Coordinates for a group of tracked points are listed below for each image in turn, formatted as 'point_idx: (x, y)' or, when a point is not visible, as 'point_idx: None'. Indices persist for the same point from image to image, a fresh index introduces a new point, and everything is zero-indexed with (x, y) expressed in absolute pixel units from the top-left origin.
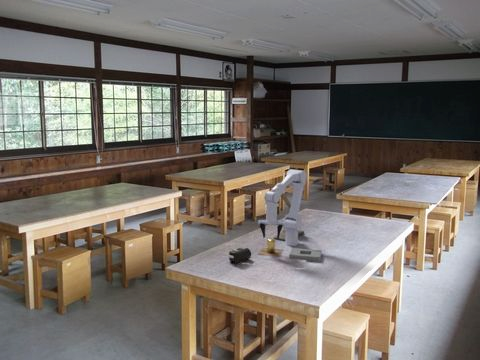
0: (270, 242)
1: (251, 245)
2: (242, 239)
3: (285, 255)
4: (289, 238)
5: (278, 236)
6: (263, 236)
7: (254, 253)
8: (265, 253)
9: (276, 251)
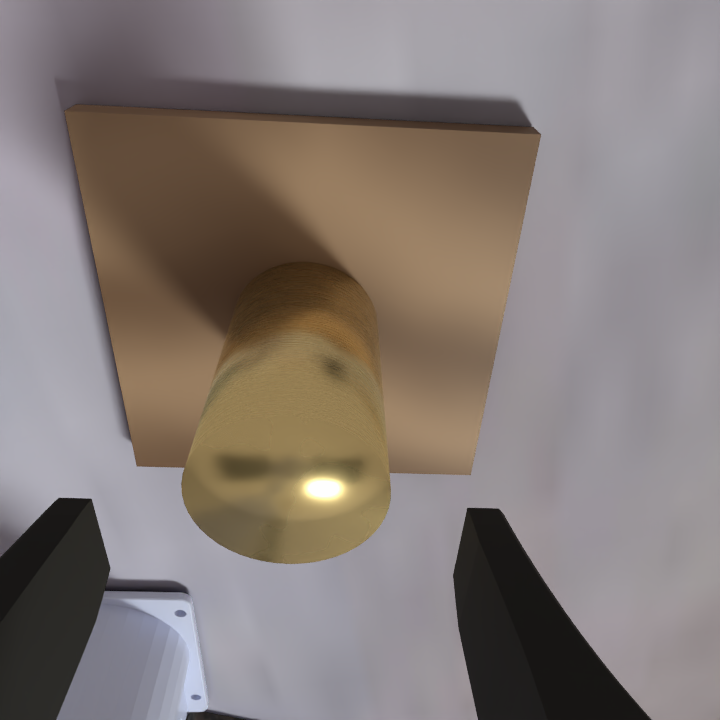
0: (286, 388)
1: (616, 562)
2: (705, 692)
3: (35, 272)
4: (79, 711)
5: (12, 548)
6: (504, 531)
7: (594, 263)
8: (393, 236)
9: None
